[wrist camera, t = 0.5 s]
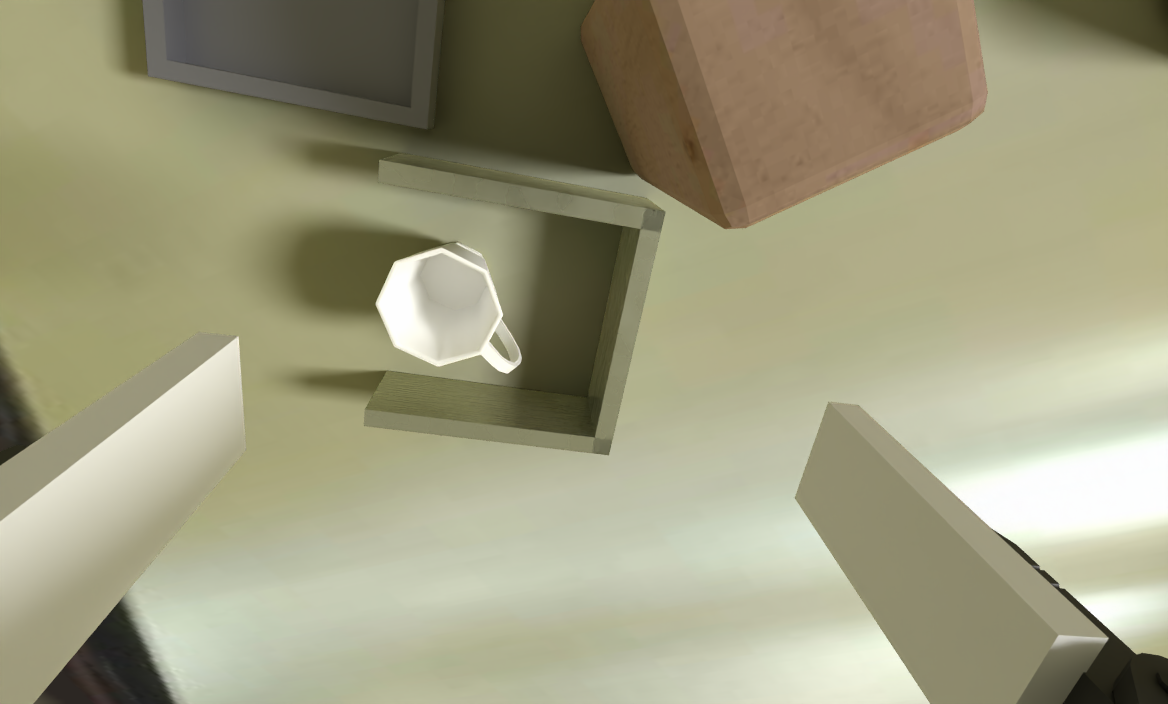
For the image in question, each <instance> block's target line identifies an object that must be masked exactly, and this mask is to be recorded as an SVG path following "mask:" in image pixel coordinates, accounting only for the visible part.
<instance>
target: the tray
mask: <svg viewBox="0 0 1168 704" xmlns="http://www.w3.org/2000/svg"><path fill="white" fill-rule="evenodd" d="M142 1H143V14H144V28H145V41H146V54H147V68H148V76H150V77H155V78H161V79H166V80H171V81H176V82H181V83H187V84H192V85H197V86H202V87H208V88H213V89H218V90H223V91H228V92H234V93H239V94H244V95H249V96H255V97H260V98H265V99H270V100H276V101H281V102H286V103H291V104H296V105H302V106H307V107H312V108H317V109H323V110H328V111H333V112H338V113H343V114H349V115H354V116H359V117H364V118H370V119H375V120H380V121H385V122H390V123H396V124H401V125H406V126H411V127H417V128H422V129H433V128H434V122H435V110H436V99H437V88H438V76H439V65H440V54H441V42H442V31H443V19H444V8H445V0H142Z"/></svg>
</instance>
